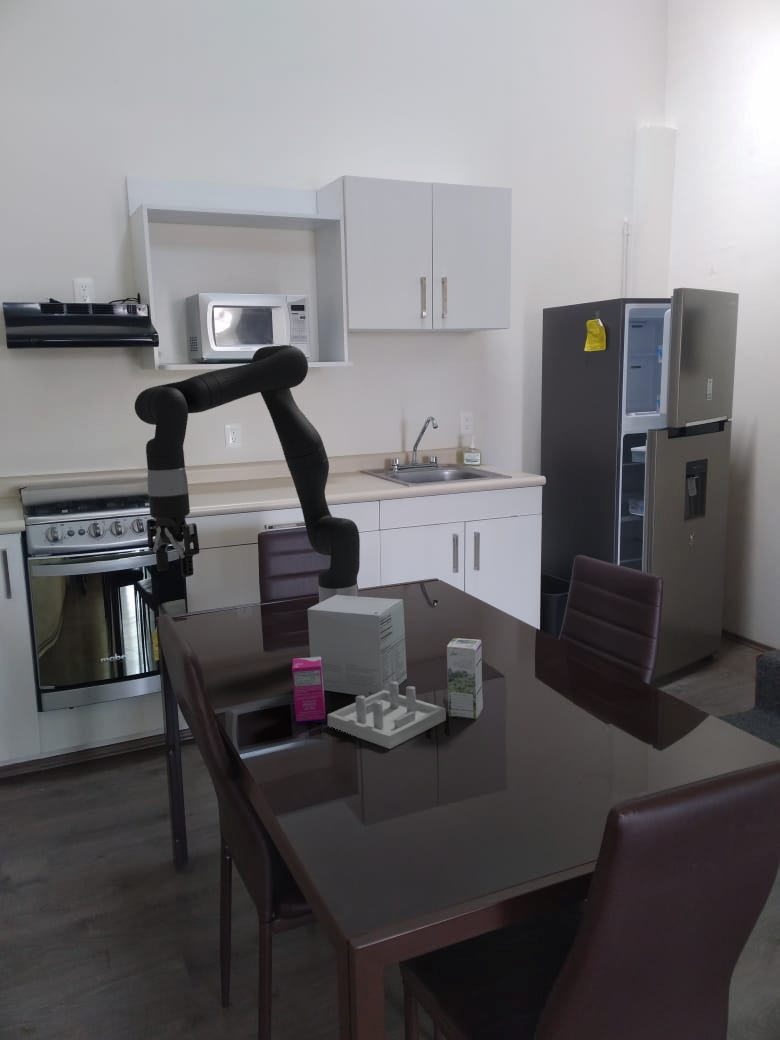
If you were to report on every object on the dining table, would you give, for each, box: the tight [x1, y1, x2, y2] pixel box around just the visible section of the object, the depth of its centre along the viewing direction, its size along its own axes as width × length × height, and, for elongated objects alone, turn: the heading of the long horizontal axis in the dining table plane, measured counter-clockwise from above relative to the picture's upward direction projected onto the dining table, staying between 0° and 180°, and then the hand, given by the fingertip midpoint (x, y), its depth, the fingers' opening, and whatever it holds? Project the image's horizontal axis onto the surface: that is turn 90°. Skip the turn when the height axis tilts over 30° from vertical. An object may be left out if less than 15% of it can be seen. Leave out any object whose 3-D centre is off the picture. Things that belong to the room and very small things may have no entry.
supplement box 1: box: [291, 656, 327, 724], centre depth 163 cm, size 6×6×12 cm
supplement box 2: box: [306, 595, 408, 698], centre depth 180 cm, size 17×13×18 cm
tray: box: [326, 681, 447, 749], centre depth 159 cm, size 16×16×6 cm
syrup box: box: [446, 637, 484, 720], centre depth 162 cm, size 6×6×14 cm
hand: (175, 573), depth 164 cm, fingers open, 8 cm apart
